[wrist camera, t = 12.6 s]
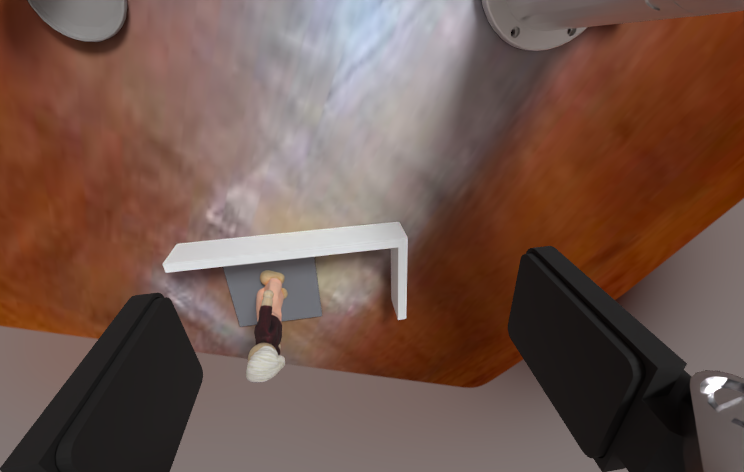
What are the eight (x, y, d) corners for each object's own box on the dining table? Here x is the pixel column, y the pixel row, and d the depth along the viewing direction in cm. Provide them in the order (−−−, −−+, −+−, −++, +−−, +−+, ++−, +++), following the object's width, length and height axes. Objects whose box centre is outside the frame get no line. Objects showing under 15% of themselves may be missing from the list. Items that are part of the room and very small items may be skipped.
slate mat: (312, 245, 38) (312, 247, 38) (321, 313, 43) (322, 315, 43) (221, 255, 37) (220, 257, 37) (240, 324, 42) (240, 326, 42)
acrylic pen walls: (399, 221, 39) (407, 238, 35) (398, 297, 44) (406, 318, 41) (176, 243, 36) (162, 264, 32) (204, 322, 41) (194, 347, 38)
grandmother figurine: (246, 267, 38) (219, 354, 27) (280, 258, 38) (267, 342, 27) (269, 317, 42) (253, 412, 31) (299, 309, 42) (295, 401, 31)
